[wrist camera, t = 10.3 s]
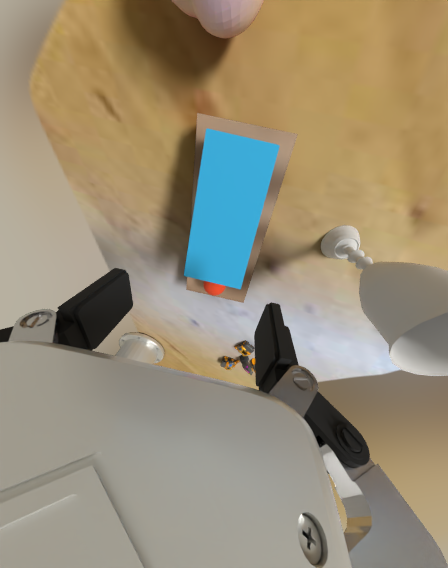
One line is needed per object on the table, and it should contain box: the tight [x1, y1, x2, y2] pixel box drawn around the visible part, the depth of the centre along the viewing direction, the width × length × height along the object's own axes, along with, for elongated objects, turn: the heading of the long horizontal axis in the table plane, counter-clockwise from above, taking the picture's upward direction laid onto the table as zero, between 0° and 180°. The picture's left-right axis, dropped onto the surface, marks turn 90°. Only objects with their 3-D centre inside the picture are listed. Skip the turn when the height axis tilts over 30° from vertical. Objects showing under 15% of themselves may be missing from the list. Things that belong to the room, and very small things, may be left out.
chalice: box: [321, 226, 448, 376], centre depth 18 cm, size 7×7×18 cm
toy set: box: [221, 341, 256, 375], centre depth 43 cm, size 12×11×5 cm
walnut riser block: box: [186, 113, 298, 303], centre depth 24 cm, size 22×10×4 cm, turn 170°
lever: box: [184, 128, 280, 296], centre depth 22 cm, size 7×7×18 cm
